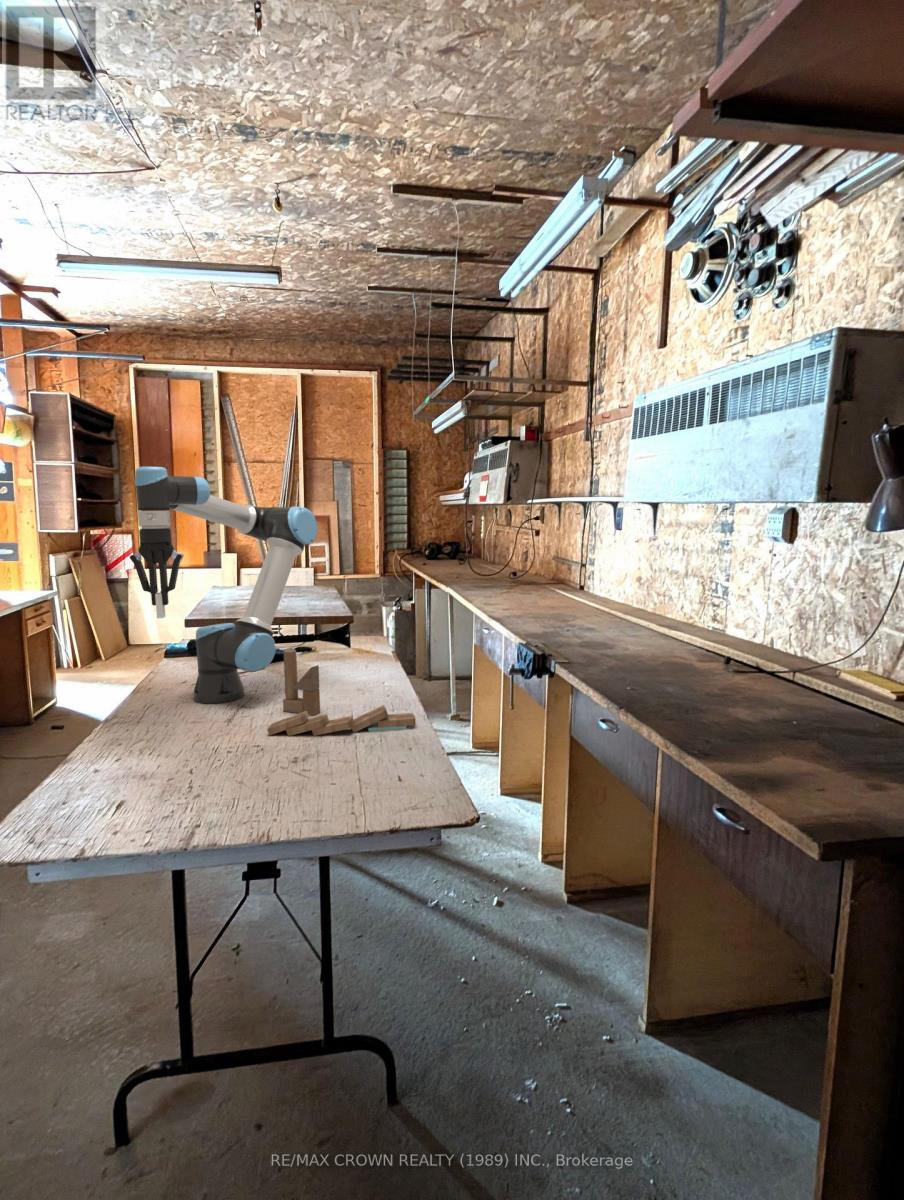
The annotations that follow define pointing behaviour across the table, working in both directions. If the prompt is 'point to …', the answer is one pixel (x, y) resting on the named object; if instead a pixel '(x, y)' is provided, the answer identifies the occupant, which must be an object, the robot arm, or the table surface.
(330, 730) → the domino
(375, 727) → the domino
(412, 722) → the domino
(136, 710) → the table surface
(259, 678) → the table surface
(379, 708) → the domino
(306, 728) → the domino
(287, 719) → the domino
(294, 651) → the wooden block
